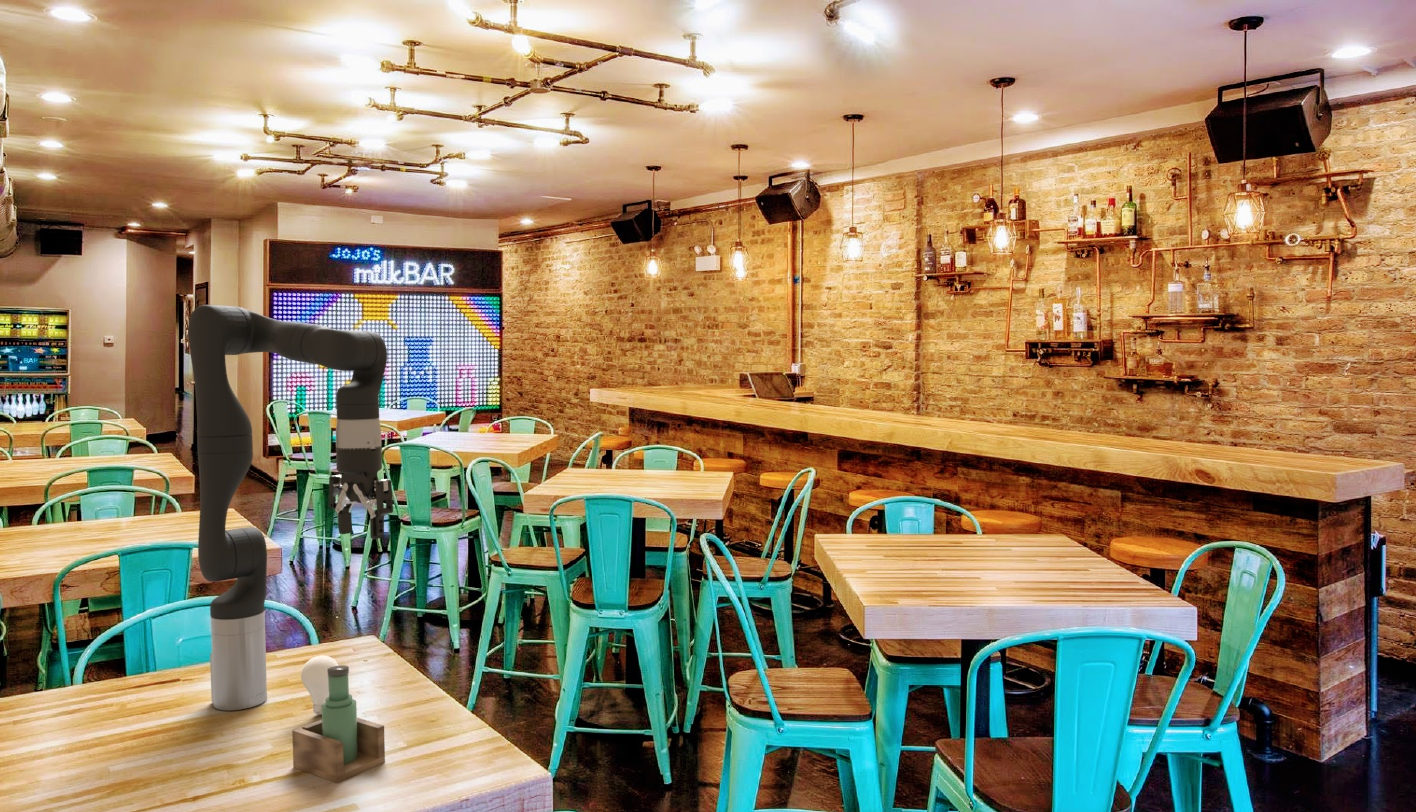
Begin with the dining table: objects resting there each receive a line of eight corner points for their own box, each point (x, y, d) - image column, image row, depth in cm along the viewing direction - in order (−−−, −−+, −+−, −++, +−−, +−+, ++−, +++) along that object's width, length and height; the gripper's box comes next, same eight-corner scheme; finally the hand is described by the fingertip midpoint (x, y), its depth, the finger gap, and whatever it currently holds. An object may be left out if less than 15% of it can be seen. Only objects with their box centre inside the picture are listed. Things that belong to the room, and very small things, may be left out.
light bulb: (327, 723, 172) (325, 663, 171) (294, 720, 173) (292, 661, 173) (348, 709, 178) (347, 651, 178) (316, 707, 180) (314, 649, 179)
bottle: (316, 761, 153) (313, 670, 153) (343, 749, 158) (341, 661, 157) (336, 768, 151) (334, 676, 150) (364, 756, 155) (362, 666, 154)
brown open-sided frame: (293, 767, 154) (292, 730, 153) (341, 747, 161) (340, 712, 161) (337, 783, 148) (336, 745, 147) (384, 762, 155) (384, 725, 155)
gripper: (314, 444, 169) (317, 535, 170) (367, 448, 161) (370, 543, 162) (350, 441, 175) (352, 529, 176) (403, 444, 167) (405, 536, 168)
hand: (361, 536), depth 169 cm, fingers open, 8 cm apart
